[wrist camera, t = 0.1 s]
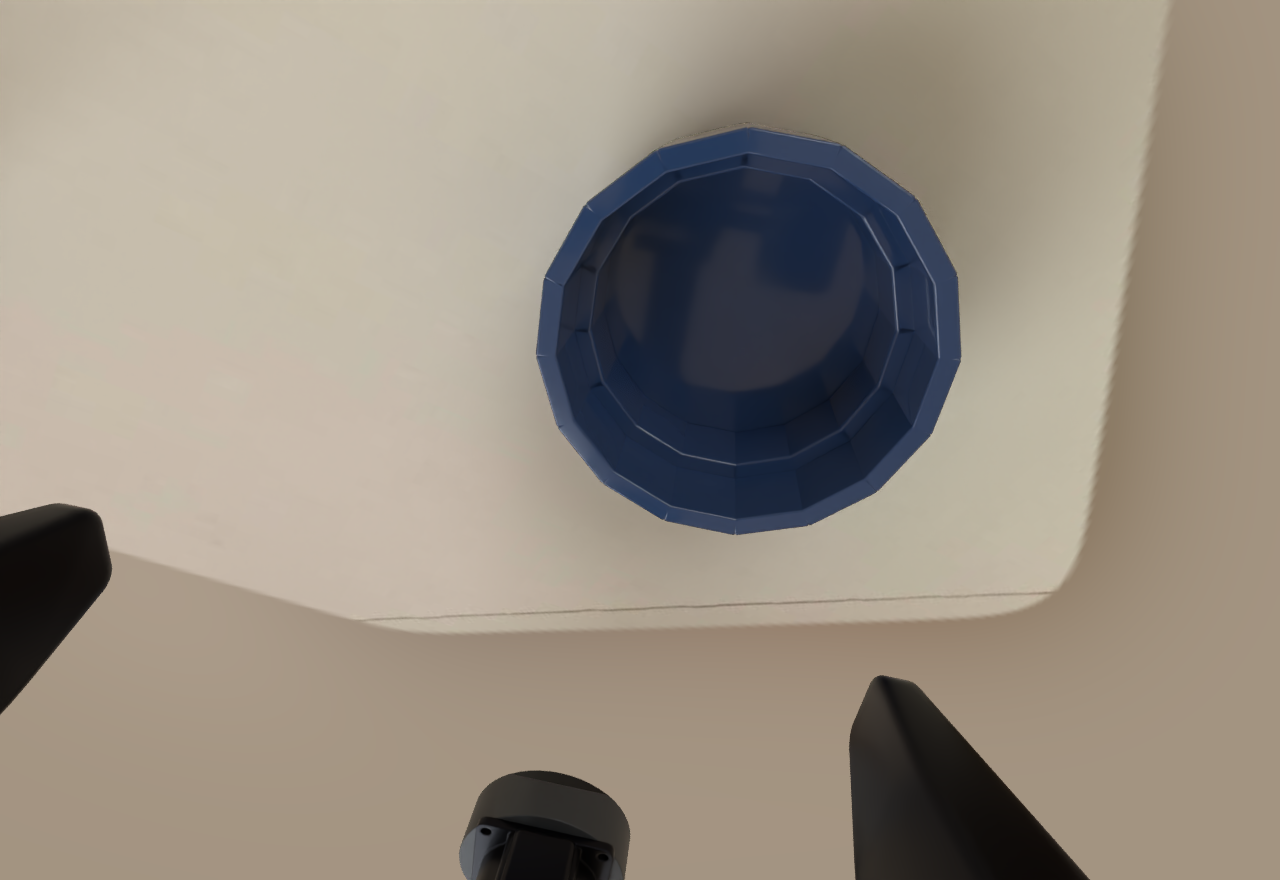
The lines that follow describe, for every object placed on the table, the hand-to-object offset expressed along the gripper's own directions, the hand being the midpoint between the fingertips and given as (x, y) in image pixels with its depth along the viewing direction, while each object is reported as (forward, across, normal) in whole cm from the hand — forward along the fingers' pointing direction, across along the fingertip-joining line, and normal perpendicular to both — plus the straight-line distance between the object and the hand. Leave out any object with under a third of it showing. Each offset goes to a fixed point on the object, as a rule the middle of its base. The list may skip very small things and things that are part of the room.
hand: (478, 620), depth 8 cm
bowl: (+14, -3, -1) cm, 15 cm away
